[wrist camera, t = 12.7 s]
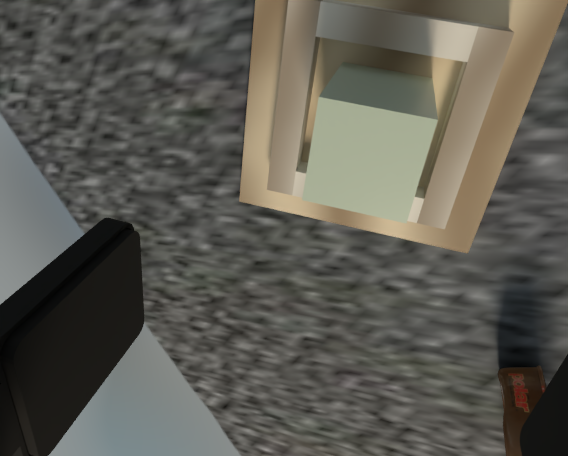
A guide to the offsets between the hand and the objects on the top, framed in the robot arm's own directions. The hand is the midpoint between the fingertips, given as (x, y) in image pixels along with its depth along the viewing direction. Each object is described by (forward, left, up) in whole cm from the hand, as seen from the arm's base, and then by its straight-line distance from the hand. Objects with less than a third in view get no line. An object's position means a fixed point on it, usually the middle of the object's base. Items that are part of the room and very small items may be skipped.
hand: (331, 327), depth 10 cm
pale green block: (0, 0, -17) cm, 17 cm away
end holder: (0, 0, -18) cm, 18 cm away
